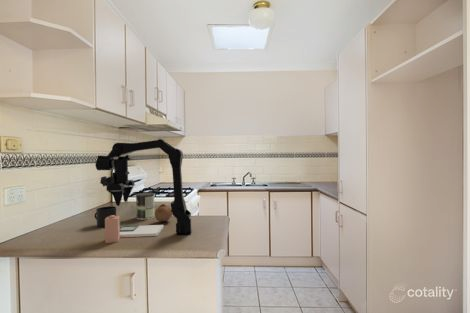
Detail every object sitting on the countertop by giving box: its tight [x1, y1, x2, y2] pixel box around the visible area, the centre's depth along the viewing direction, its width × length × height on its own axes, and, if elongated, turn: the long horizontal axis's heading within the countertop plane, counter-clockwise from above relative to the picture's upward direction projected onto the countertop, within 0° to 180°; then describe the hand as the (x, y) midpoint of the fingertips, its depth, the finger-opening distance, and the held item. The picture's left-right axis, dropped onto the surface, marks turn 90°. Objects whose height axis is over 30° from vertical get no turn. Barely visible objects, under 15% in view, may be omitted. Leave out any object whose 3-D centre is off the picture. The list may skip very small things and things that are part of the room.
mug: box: [94, 205, 117, 228], centre depth 138 cm, size 9×12×9 cm
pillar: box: [104, 215, 121, 244], centre depth 112 cm, size 5×5×11 cm
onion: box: [154, 203, 173, 223], centre depth 141 cm, size 10×9×10 cm
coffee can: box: [135, 192, 155, 221], centre depth 152 cm, size 10×10×14 cm
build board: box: [120, 224, 164, 238], centre depth 124 cm, size 20×14×2 cm
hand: (121, 203), depth 119 cm, fingers open, 9 cm apart
